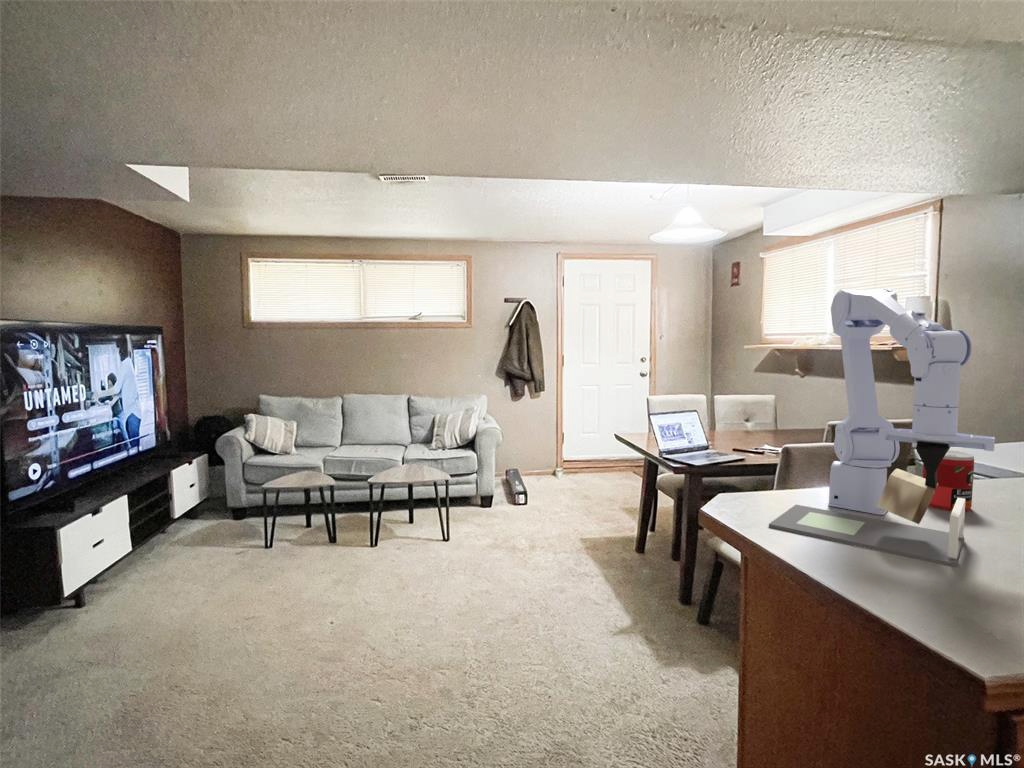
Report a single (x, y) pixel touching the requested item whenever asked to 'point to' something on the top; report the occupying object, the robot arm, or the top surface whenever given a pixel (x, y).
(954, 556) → the gate
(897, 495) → the birch cube
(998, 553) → the top surface
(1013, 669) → the top surface
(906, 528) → the rubber mat
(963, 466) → the canned food
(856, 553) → the top surface
